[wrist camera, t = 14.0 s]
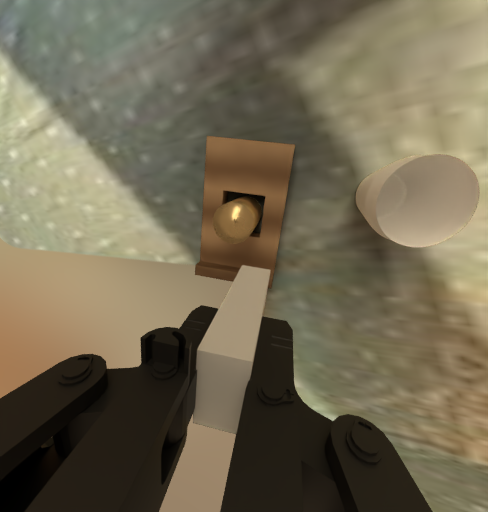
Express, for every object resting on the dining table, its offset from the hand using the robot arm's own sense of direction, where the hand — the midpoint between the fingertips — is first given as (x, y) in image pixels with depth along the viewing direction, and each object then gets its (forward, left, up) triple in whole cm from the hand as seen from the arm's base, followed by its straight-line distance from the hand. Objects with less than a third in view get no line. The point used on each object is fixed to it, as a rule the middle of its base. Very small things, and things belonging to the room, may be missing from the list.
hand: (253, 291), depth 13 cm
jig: (0, -5, -26) cm, 27 cm away
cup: (-5, +14, -27) cm, 30 cm away
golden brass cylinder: (0, -5, -26) cm, 27 cm away
